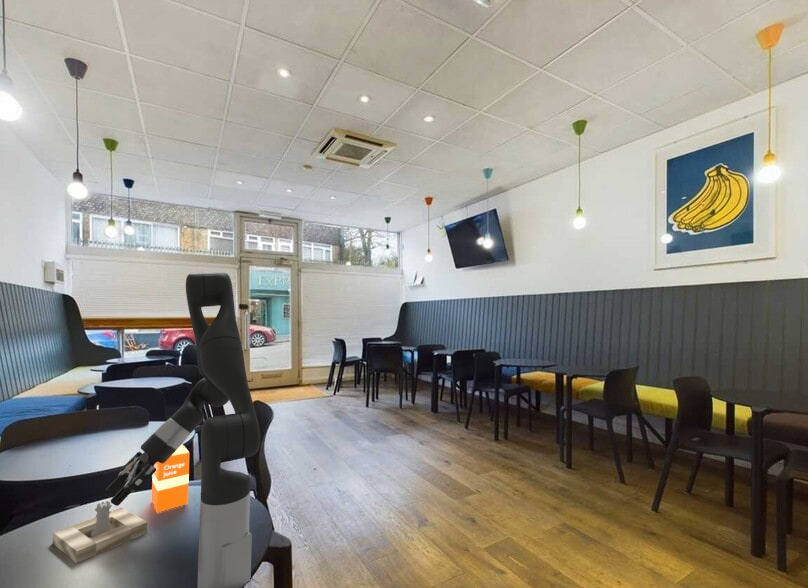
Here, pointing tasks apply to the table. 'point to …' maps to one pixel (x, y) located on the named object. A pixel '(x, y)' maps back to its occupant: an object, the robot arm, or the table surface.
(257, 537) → the table surface
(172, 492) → the orange juice
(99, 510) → the rook chess piece
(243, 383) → the robot arm
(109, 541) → the wooden square ring
